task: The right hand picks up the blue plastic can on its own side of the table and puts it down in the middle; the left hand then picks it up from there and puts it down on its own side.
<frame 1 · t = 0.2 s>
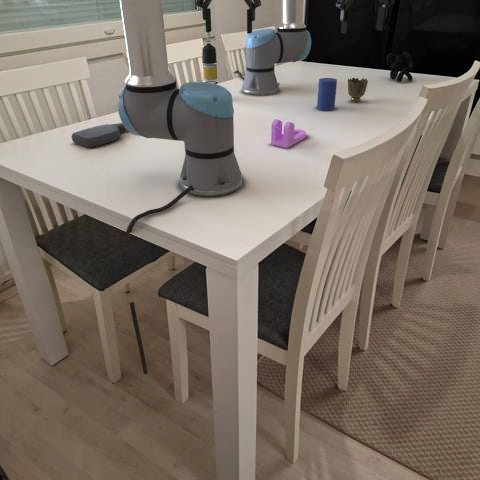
left hand: (228, 32, 138), 28 cm above the table, tool pointing down, fingers open, 13 cm apart
right hand: (362, 31, 140), 27 cm above the table, tool pointing down, fingers open, 13 cm apart
squiggle: (399, 80, 200), on the table
can: (325, 108, 165), on the table
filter: (211, 98, 179), on the table
bracket: (290, 140, 136), on the table
dark grey flat piece: (113, 135, 142), on the table
cup: (355, 101, 172), on the table
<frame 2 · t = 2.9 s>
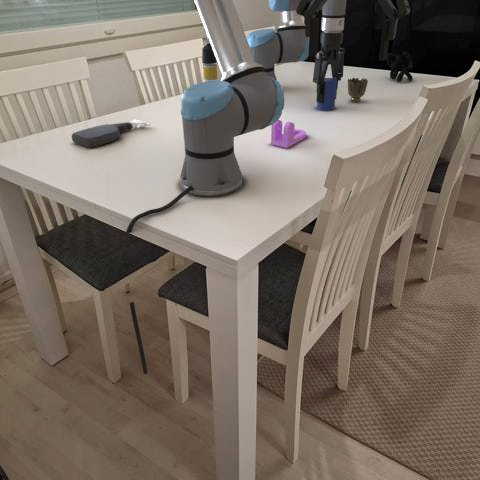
left hand: (346, 57, 84), 31 cm above the table, tool pointing down, fingers open, 13 cm apart
right hand: (326, 100, 163), 3 cm above the table, tool pointing down, fingers closed on can, 6 cm apart
can: (325, 108, 165), on the table, touching right hand
everything else where it was.
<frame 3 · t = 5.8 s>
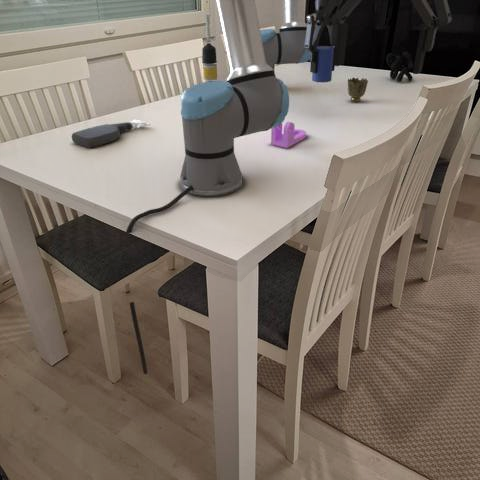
left hand: (376, 68, 76), 31 cm above the table, tool pointing down, fingers open, 13 cm apart
right hand: (322, 71, 148), 15 cm above the table, tool pointing down, fingers closed on can, 6 cm apart
can: (321, 80, 149), point 12 cm above the table, touching right hand
everything else where it was.
when the right hand's fingers open (4 cm above the table, at t = 8.8 s): can drops 1 cm, on the table.
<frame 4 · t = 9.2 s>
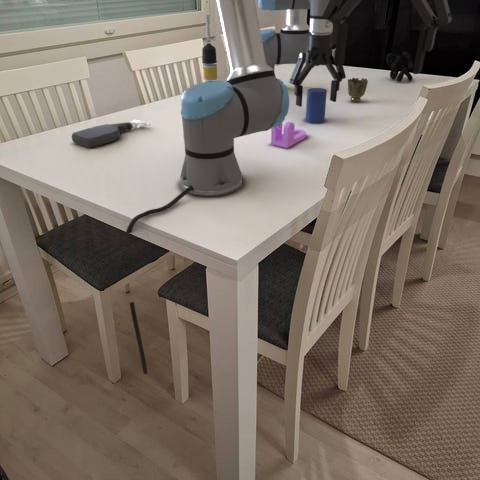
left hand: (376, 68, 76), 31 cm above the table, tool pointing down, fingers open, 13 cm apart
right hand: (316, 103, 149), 6 cm above the table, tool pointing down, fingers open, 12 cm apart
can: (314, 120, 152), on the table
everything else where it was.
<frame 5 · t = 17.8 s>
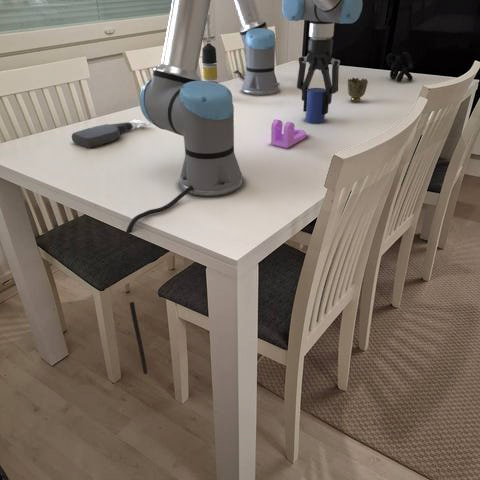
left hand: (315, 111, 151), 3 cm above the table, tool pointing down, fingers closed on can, 6 cm apart
right hand: (341, 15, 186), 27 cm above the table, tool pointing down, fingers open, 13 cm apart
can: (314, 120, 152), on the table, touching left hand
everything else where it was.
when the left hand's fingers open (4 cm above the table, at t = 30.2 s): can drops 1 cm, on the table.
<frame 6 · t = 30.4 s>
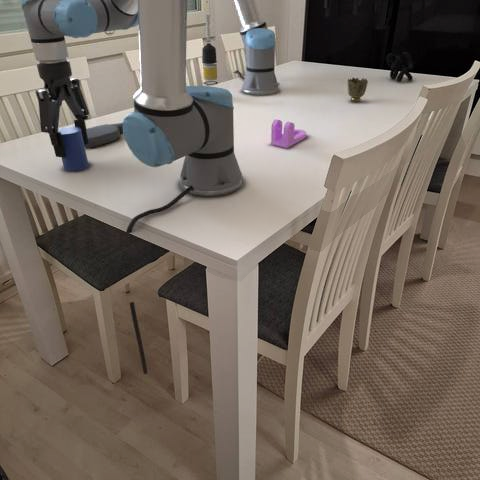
left hand: (72, 150, 118), 5 cm above the table, tool pointing down, fingers open, 9 cm apart
right hand: (341, 15, 186), 27 cm above the table, tool pointing down, fingers open, 13 cm apart
can: (76, 166, 121), on the table
everything else where it was.
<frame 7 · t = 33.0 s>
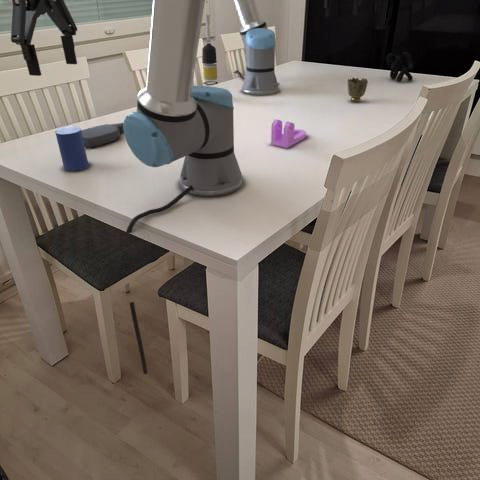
left hand: (54, 69, 108), 25 cm above the table, tool pointing down, fingers open, 13 cm apart
right hand: (341, 15, 186), 27 cm above the table, tool pointing down, fingers open, 13 cm apart
nothing on the table moved.
at the end: can inside the target area (0.1 cm from its centre), on the table; can tilted 0°; the two hands never held the can at the same time; the left hand is holding nothing; the right hand is holding nothing; can at rest at the end (0.0 cm/s) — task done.
